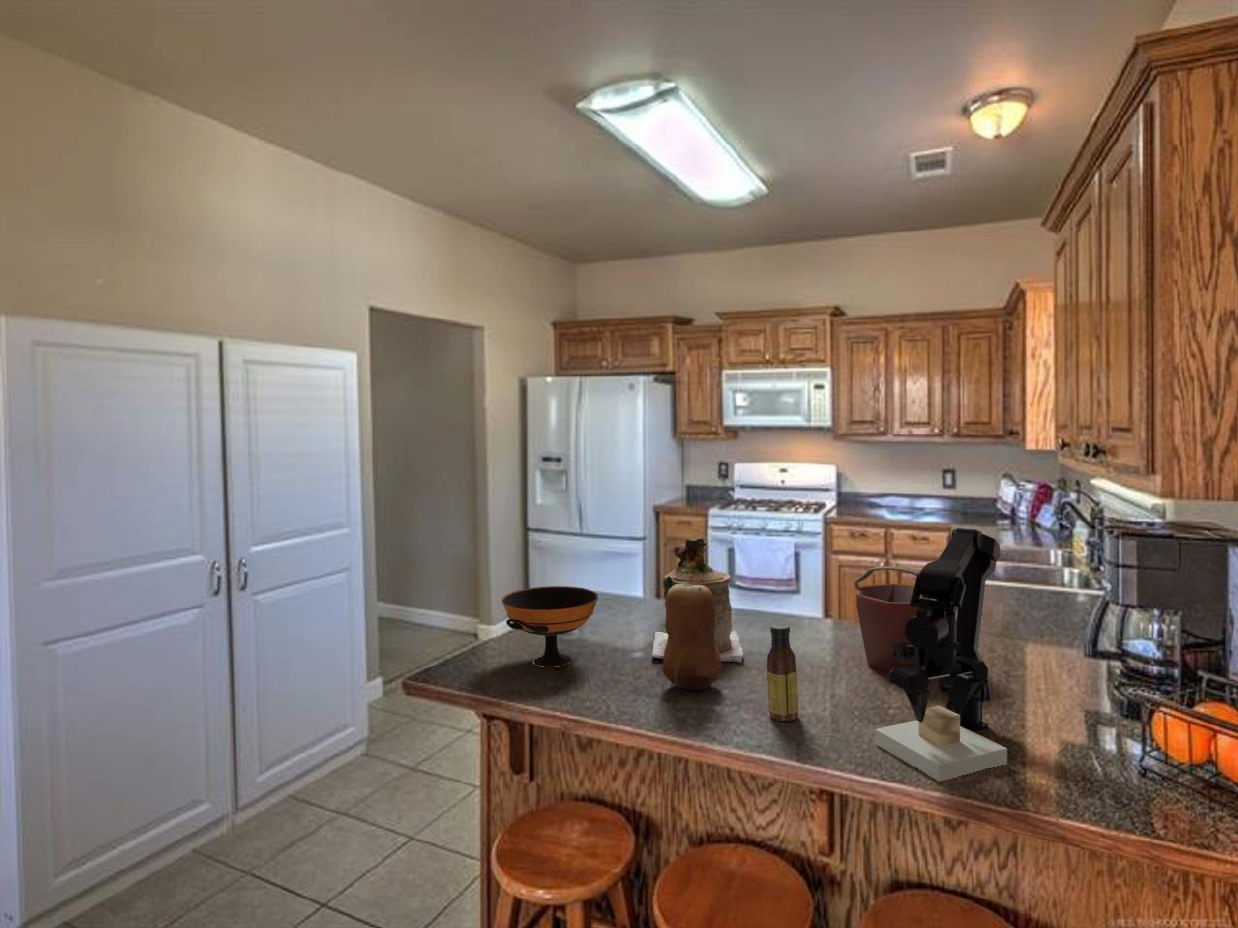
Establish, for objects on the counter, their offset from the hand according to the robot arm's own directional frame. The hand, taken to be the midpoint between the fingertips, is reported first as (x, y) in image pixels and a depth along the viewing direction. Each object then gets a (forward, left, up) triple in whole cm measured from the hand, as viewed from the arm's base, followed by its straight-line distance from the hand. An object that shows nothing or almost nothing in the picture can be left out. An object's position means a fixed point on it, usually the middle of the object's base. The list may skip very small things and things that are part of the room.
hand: (938, 717), depth 134 cm
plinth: (0, 0, -7) cm, 7 cm away
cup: (+52, -81, -7) cm, 97 cm away
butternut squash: (+27, -49, -7) cm, 56 cm away
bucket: (-30, -42, -7) cm, 52 cm away
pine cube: (0, 0, -4) cm, 4 cm away
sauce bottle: (+17, -26, -7) cm, 32 cm away
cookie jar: (+12, -75, -7) cm, 76 cm away
